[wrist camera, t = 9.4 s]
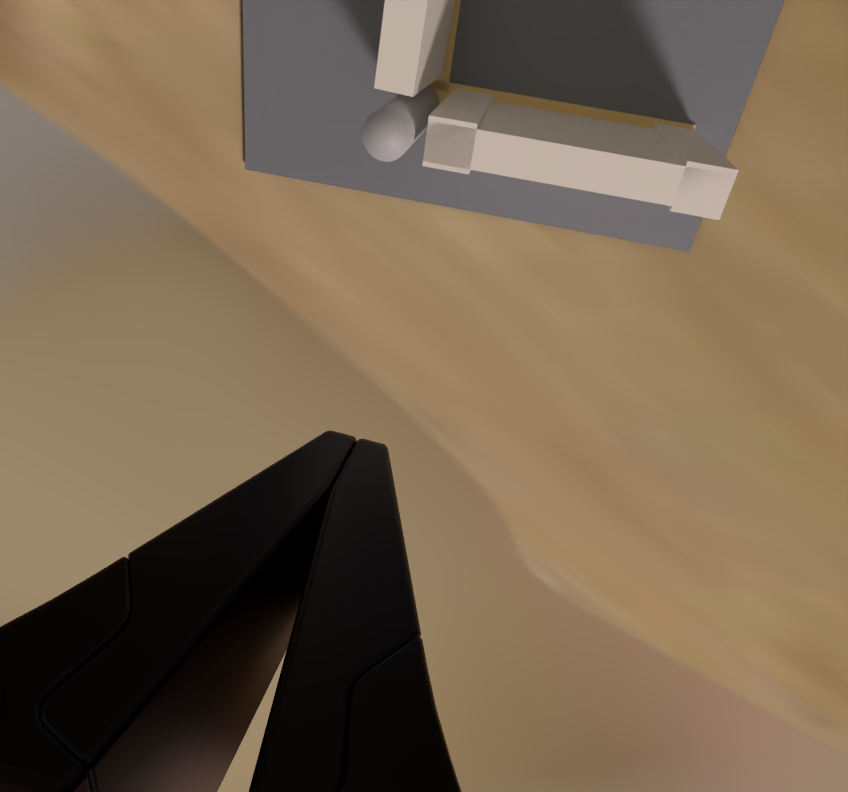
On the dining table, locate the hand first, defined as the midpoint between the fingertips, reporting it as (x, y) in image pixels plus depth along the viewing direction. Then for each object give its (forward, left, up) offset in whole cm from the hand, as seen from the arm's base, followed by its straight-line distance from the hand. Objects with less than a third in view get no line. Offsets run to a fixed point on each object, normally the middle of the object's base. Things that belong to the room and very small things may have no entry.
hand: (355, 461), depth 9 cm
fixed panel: (-3, -3, -12) cm, 12 cm away
